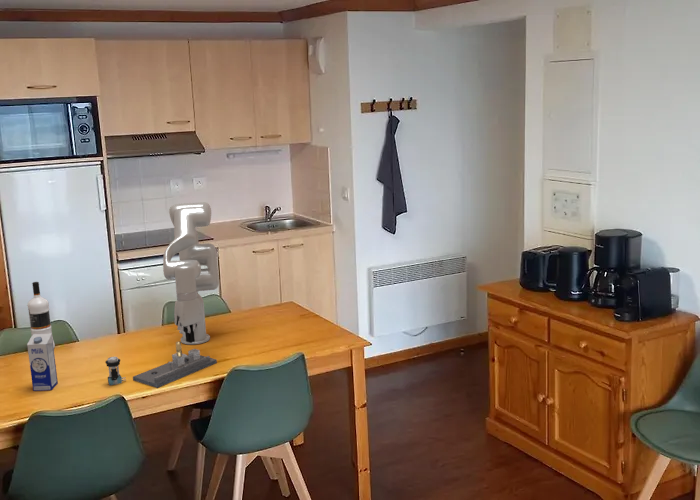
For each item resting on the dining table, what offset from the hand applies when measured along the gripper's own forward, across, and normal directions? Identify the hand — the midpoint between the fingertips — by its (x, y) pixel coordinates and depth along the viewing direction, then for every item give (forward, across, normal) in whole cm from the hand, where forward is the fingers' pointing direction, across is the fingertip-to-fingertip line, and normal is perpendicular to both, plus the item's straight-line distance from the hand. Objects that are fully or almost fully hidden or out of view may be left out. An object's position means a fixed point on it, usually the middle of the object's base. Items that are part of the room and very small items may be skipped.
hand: (190, 341), depth 292 cm
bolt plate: (+11, +5, -3) cm, 13 cm away
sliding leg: (+9, +5, -3) cm, 11 cm away
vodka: (+10, +18, -73) cm, 76 cm away
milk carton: (+12, +42, -33) cm, 55 cm away
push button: (+12, +25, -13) cm, 31 cm away
